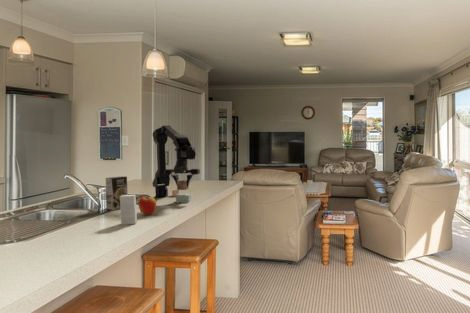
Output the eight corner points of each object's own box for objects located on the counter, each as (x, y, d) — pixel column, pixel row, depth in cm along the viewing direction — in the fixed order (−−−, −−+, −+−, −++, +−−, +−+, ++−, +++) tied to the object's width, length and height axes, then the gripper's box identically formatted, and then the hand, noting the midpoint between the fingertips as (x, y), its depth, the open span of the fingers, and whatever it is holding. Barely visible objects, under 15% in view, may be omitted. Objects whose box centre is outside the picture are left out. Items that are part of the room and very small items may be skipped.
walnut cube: (177, 189, 246) (176, 180, 246) (179, 188, 251) (179, 179, 251) (186, 189, 246) (185, 180, 245) (188, 188, 250) (188, 179, 250)
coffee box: (114, 210, 227) (112, 178, 226) (106, 209, 231) (104, 177, 230) (128, 207, 234) (127, 176, 234) (120, 206, 238) (119, 175, 237)
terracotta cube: (172, 196, 270) (172, 190, 270) (172, 195, 274) (172, 189, 274) (179, 196, 270) (178, 189, 270) (179, 195, 274) (179, 188, 274)
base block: (176, 203, 245) (175, 195, 245) (178, 201, 252) (177, 194, 252) (188, 202, 245) (188, 195, 245) (190, 200, 252) (190, 193, 252)
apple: (157, 212, 215) (157, 192, 215) (155, 216, 207) (154, 194, 207) (140, 213, 215) (139, 192, 215) (137, 216, 207) (136, 194, 207)
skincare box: (137, 222, 194) (136, 194, 193) (135, 224, 190) (134, 195, 189) (122, 222, 194) (121, 194, 193) (120, 224, 190) (119, 196, 189)
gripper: (160, 160, 241) (161, 189, 242) (194, 159, 238) (195, 189, 239) (167, 158, 252) (168, 186, 253) (199, 158, 249) (200, 186, 250)
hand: (182, 187), depth 248 cm, fingers closed on walnut cube, 5 cm apart
